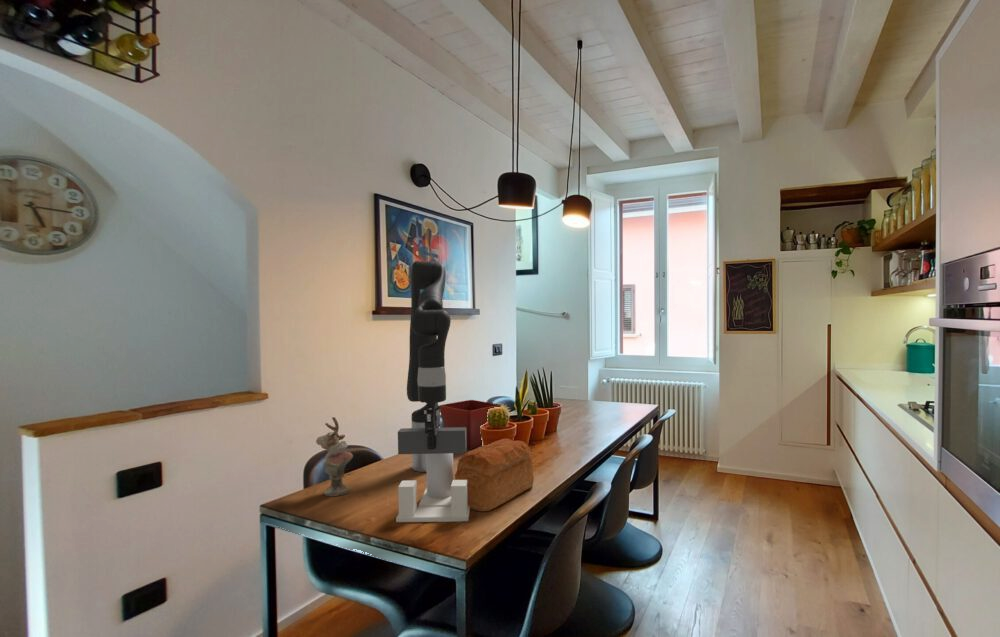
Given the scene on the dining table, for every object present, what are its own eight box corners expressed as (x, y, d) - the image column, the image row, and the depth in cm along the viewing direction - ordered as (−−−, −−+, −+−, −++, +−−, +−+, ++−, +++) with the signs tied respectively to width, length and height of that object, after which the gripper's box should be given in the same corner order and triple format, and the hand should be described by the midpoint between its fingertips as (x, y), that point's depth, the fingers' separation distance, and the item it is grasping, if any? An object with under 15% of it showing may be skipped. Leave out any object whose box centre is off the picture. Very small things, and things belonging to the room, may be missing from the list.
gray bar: (466, 449, 136) (466, 427, 136) (465, 453, 132) (465, 430, 132) (401, 450, 136) (400, 428, 136) (398, 454, 132) (397, 431, 132)
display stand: (411, 491, 153) (410, 430, 153) (473, 491, 153) (472, 429, 153) (396, 522, 131) (395, 449, 130) (468, 521, 130) (466, 448, 130)
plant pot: (502, 443, 209) (502, 404, 209) (469, 453, 196) (469, 410, 196) (471, 436, 223) (471, 399, 223) (438, 445, 209) (438, 405, 209)
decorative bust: (312, 482, 159) (320, 407, 157) (352, 486, 161) (361, 411, 159) (302, 498, 148) (310, 417, 146) (345, 501, 150) (354, 421, 148)
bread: (449, 504, 143) (448, 452, 143) (501, 478, 165) (500, 433, 165) (489, 514, 135) (488, 459, 135) (537, 486, 157) (537, 438, 157)
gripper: (442, 386, 127) (443, 453, 127) (448, 380, 141) (449, 440, 141) (413, 387, 127) (414, 454, 127) (422, 380, 141) (423, 440, 141)
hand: (433, 446), depth 134 cm, fingers closed on gray bar, 4 cm apart
